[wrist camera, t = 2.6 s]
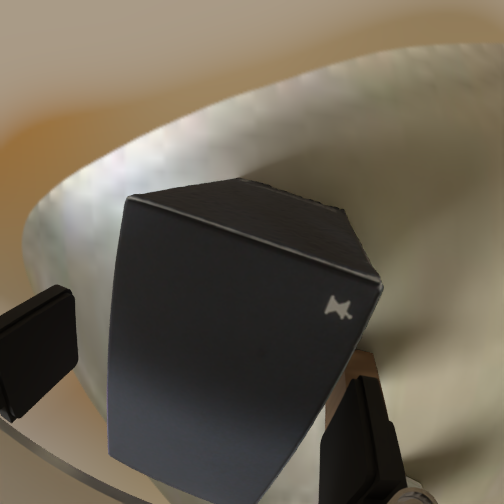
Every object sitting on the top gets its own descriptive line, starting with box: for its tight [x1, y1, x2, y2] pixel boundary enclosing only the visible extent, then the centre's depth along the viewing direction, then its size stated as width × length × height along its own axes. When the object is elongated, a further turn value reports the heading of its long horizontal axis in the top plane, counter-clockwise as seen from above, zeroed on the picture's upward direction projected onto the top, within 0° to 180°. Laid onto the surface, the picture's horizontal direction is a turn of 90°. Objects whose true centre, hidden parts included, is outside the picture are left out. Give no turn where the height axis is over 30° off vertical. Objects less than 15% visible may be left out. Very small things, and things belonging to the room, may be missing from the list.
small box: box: [107, 178, 384, 504], centre depth 13 cm, size 11×6×10 cm, turn 164°
